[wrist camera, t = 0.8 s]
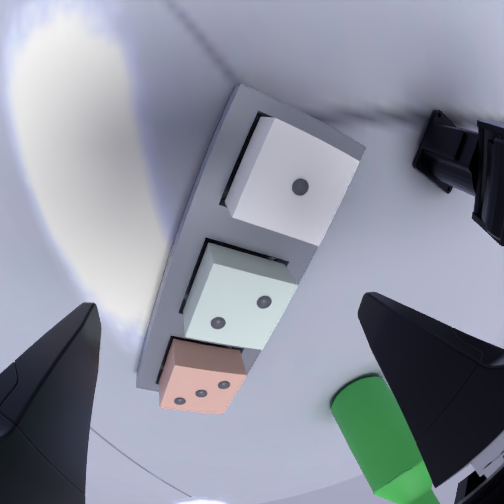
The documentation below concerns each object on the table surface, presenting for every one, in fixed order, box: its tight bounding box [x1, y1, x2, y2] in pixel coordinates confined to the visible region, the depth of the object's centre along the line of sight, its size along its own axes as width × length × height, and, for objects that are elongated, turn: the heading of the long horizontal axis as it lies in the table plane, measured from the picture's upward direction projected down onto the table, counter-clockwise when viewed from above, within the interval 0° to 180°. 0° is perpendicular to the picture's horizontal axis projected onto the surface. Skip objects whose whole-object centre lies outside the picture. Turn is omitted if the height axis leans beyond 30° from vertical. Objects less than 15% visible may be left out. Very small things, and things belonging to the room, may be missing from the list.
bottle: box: [331, 376, 440, 504], centre depth 27 cm, size 9×9×25 cm
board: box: [136, 84, 366, 392], centre depth 23 cm, size 10×27×2 cm, turn 156°
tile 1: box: [225, 117, 360, 246], centre depth 18 cm, size 6×6×3 cm
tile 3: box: [159, 339, 247, 414], centre depth 24 cm, size 6×6×3 cm
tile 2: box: [183, 242, 298, 350], centre depth 21 cm, size 6×6×3 cm
